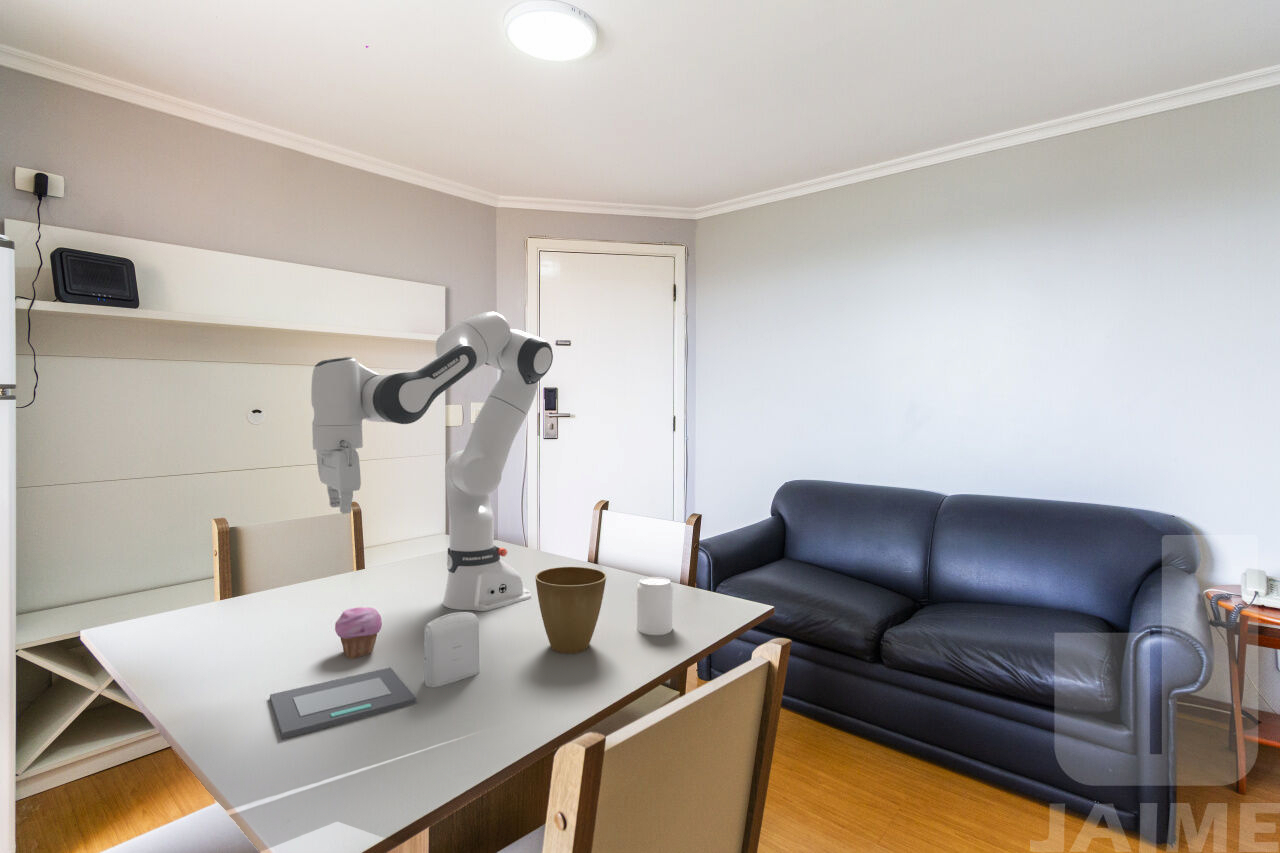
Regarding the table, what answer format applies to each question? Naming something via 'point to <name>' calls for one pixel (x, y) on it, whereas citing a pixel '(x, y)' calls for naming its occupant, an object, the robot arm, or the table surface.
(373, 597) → the table surface
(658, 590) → the beverage can
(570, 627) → the plant pot
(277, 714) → the charging mat
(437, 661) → the photo printer
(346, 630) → the cupcake
